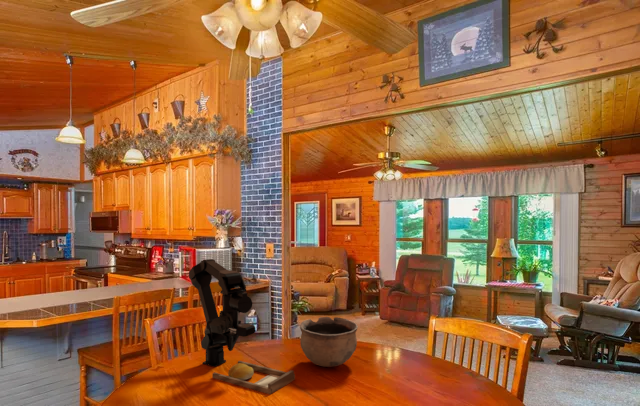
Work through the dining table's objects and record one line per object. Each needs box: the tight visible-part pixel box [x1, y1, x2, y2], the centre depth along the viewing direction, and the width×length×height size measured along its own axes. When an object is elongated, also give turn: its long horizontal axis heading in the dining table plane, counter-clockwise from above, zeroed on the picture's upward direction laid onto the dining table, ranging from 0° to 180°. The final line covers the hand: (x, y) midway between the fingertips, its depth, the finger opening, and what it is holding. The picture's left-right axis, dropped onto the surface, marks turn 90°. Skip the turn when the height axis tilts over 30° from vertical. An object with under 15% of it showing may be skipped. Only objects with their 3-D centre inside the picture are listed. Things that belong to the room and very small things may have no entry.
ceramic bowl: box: [299, 316, 359, 368], centre depth 160 cm, size 22×22×15 cm
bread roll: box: [227, 363, 255, 381], centre depth 147 cm, size 8×9×4 cm
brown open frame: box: [211, 360, 296, 395], centre depth 146 cm, size 25×14×3 cm, turn 59°
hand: (230, 350), depth 152 cm, fingers closed
